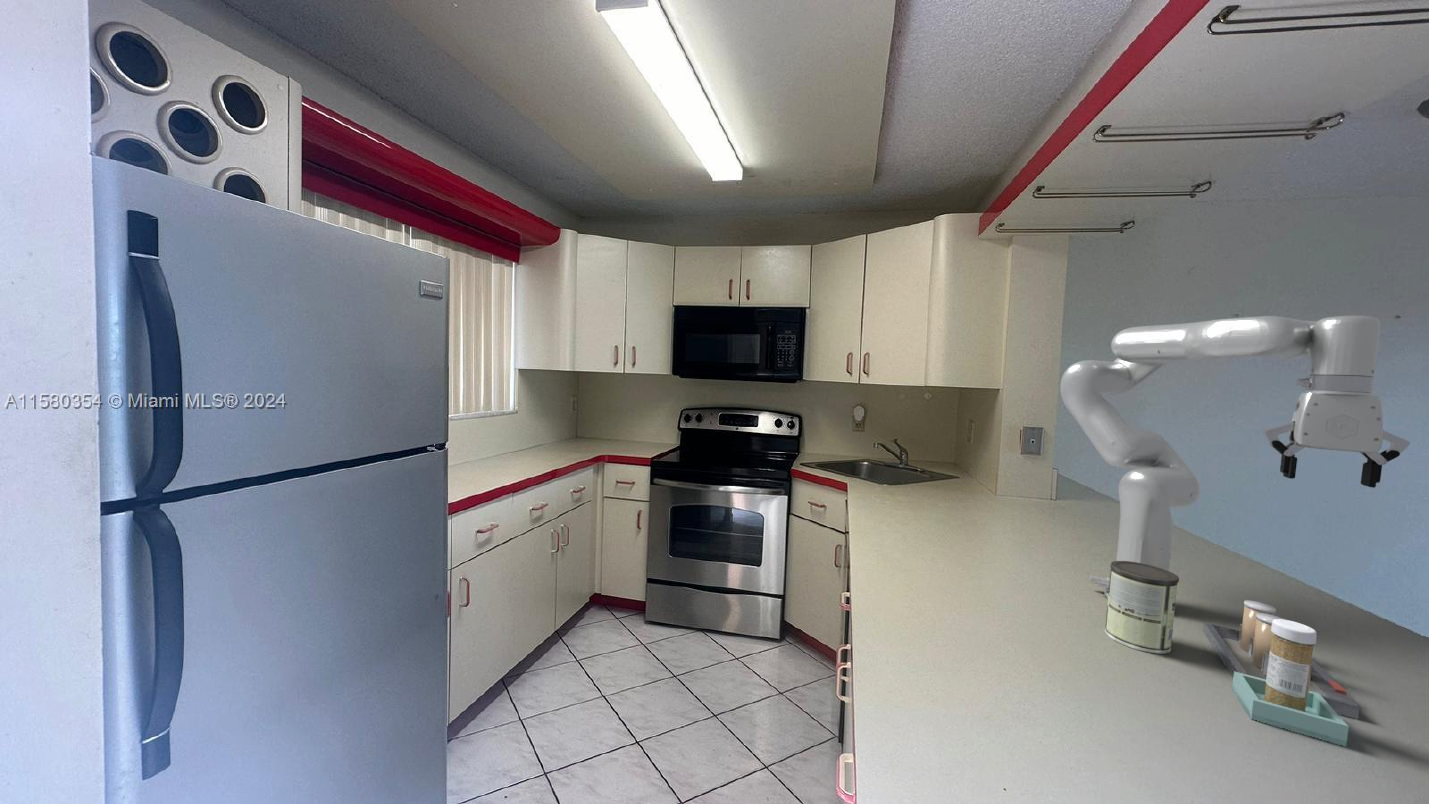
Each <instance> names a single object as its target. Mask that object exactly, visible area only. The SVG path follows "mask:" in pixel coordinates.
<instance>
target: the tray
mask: <svg viewBox="0 0 1429 804" xmlns="http://www.w3.org/2000/svg"><path fill="white" fill-rule="evenodd" d="M1232 678H1233V679H1232V685H1231V687H1232V691H1233V694H1235V696H1236V698H1237V699H1238V701H1239V702H1240V704H1241V706H1242V707H1243V708H1244V711H1245V712H1246V714H1247V715H1248V717H1249V718H1250V720H1252V719H1254V720H1253V721H1255V720H1257V721H1256V722H1259V721H1260V723H1262V722H1263V724H1265V723H1267V724H1266V725H1269V724H1270V726H1273V727H1275V728H1280V729H1283V728H1286V729H1288V730H1287V731H1289V730H1292V731H1291V732H1293V731H1296V732H1297V734H1300V733H1301V734H1300V735H1303V734H1304V736H1307V737H1310V736H1313V737H1317V738H1321V739H1322V740H1321V741H1324V740H1327V741H1329V742H1328V743H1331V744H1334V745H1338V746H1341V745H1342V746H1341V747H1345V748H1347V743H1348V735H1349V734H1348V733H1349V725H1348V724H1347V723H1346V721H1344V719H1343V718H1342V717H1341V716H1340V714H1337V713H1336V712H1335V711H1334V710H1333V709H1332V707H1331V706H1330V705H1329V704H1328V703H1327V702H1326V701H1325V700H1324V699H1323V697H1322V696H1323V695H1322V694H1320V693H1319V692H1315V691H1311V690H1309V693H1308V696H1307V702H1306V709H1305V712H1303V711H1299V710H1295V709H1292V708H1288V707H1284V706H1281V705H1277V704H1273V703H1270V702H1266V701H1263V699H1264V697H1265V689H1266V679H1265V678H1262V677H1258V676H1253V675H1249V674H1248V675H1246V674H1242V673H1238V672H1235V671H1234V677H1232ZM1321 695H1322V696H1321ZM1286 729H1285V730H1286ZM1296 732H1295V733H1296ZM1313 737H1312V738H1313ZM1317 738H1316V739H1317ZM1323 739H1324V740H1323ZM1327 741H1326V742H1327Z"/></svg>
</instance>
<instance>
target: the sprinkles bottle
mask: <svg viewBox="0 0 1429 804" xmlns="http://www.w3.org/2000/svg"><path fill="white" fill-rule="evenodd" d="M1284 619H1285V618H1283V619H1274V620H1273V621H1272V627H1271V631H1272V641H1271V649H1270V653H1269V661H1268V669H1267V675H1266V677H1265V678H1266V679H1265V680H1266V689H1265V697H1264V699H1263V701H1266V702H1270V703H1273V704H1277V705H1281V706H1284V707H1288V708H1292V709H1295V710H1299V711H1303V712H1305V709H1306V702H1307V696H1308V693H1309V691H1310V686H1311V685H1310V684H1311V677H1310V672H1311V662H1312V659H1313V651H1314V647H1315V645H1316V643H1317V631H1316V630H1315V629H1314V628H1312V627H1310V626H1308V625H1305V624H1303V623H1299V622H1297V621H1293V620H1290V619H1289V620H1288V619H1285V620H1284Z"/></svg>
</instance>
